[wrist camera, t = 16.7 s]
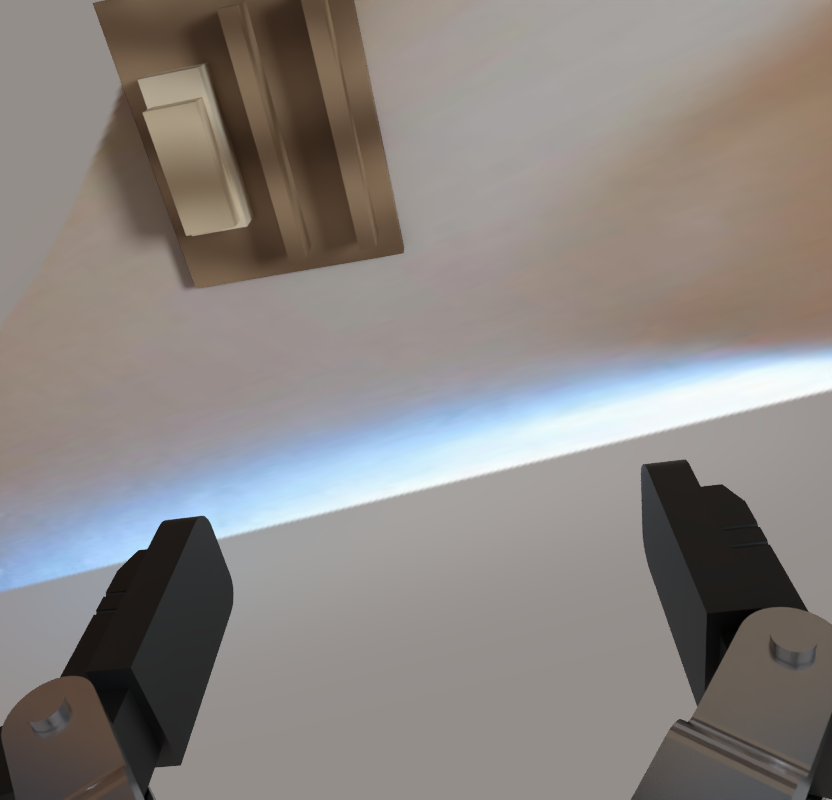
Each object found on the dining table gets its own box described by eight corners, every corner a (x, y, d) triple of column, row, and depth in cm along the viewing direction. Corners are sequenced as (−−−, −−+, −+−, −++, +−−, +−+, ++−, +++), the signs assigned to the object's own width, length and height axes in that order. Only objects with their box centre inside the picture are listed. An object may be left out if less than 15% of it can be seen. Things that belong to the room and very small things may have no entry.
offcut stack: (149, 74, 43) (127, 84, 40) (207, 62, 43) (189, 71, 40) (201, 225, 47) (185, 244, 44) (254, 216, 47) (241, 234, 44)
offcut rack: (99, 2, 42) (73, 6, 39) (343, -52, 40) (335, -52, 37) (199, 282, 51) (184, 303, 48) (404, 247, 49) (401, 267, 46)
